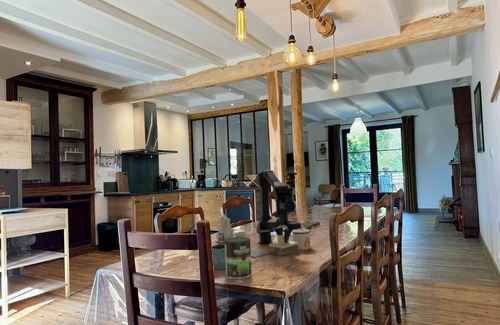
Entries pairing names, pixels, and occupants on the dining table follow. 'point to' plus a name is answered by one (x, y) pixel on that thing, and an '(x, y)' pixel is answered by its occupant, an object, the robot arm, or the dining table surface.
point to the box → (283, 250)
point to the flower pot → (219, 256)
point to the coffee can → (238, 258)
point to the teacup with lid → (302, 238)
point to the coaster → (258, 253)
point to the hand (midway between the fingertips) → (283, 242)
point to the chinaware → (227, 230)
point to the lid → (282, 242)
